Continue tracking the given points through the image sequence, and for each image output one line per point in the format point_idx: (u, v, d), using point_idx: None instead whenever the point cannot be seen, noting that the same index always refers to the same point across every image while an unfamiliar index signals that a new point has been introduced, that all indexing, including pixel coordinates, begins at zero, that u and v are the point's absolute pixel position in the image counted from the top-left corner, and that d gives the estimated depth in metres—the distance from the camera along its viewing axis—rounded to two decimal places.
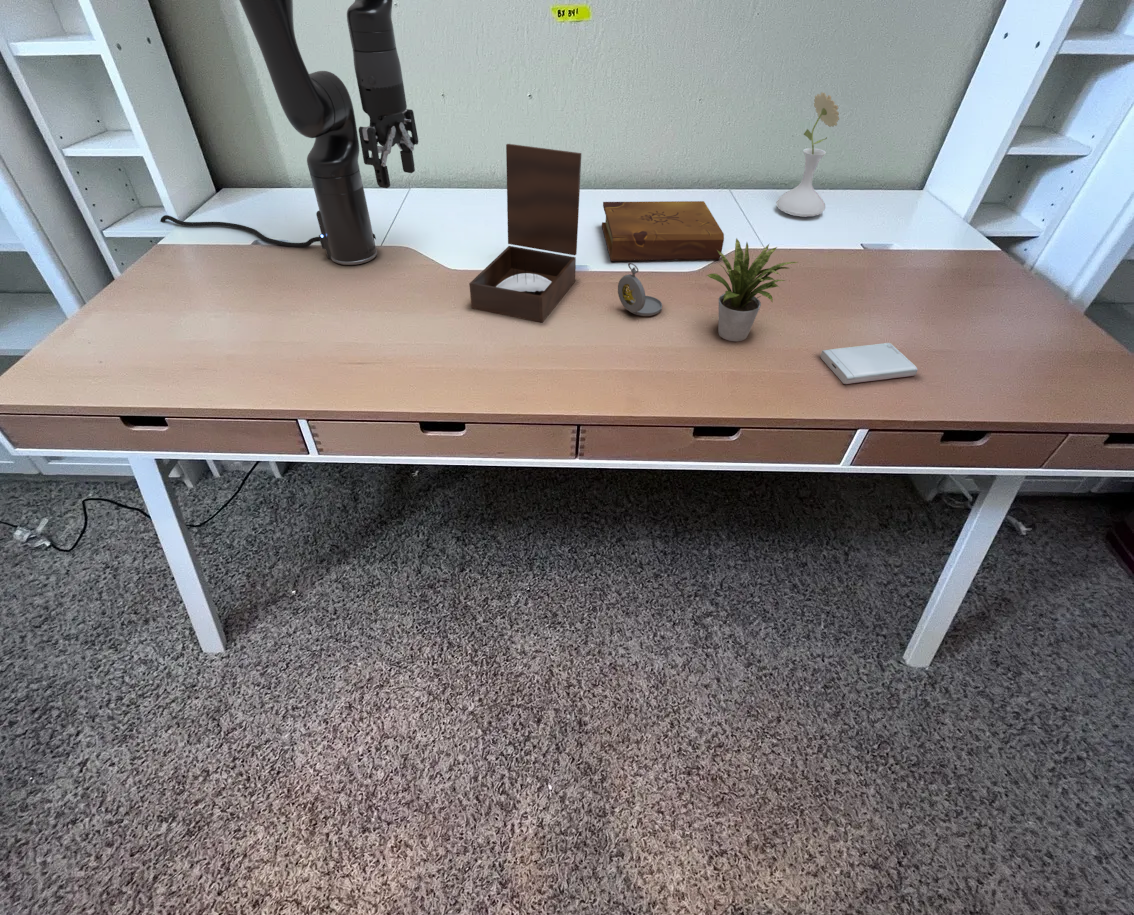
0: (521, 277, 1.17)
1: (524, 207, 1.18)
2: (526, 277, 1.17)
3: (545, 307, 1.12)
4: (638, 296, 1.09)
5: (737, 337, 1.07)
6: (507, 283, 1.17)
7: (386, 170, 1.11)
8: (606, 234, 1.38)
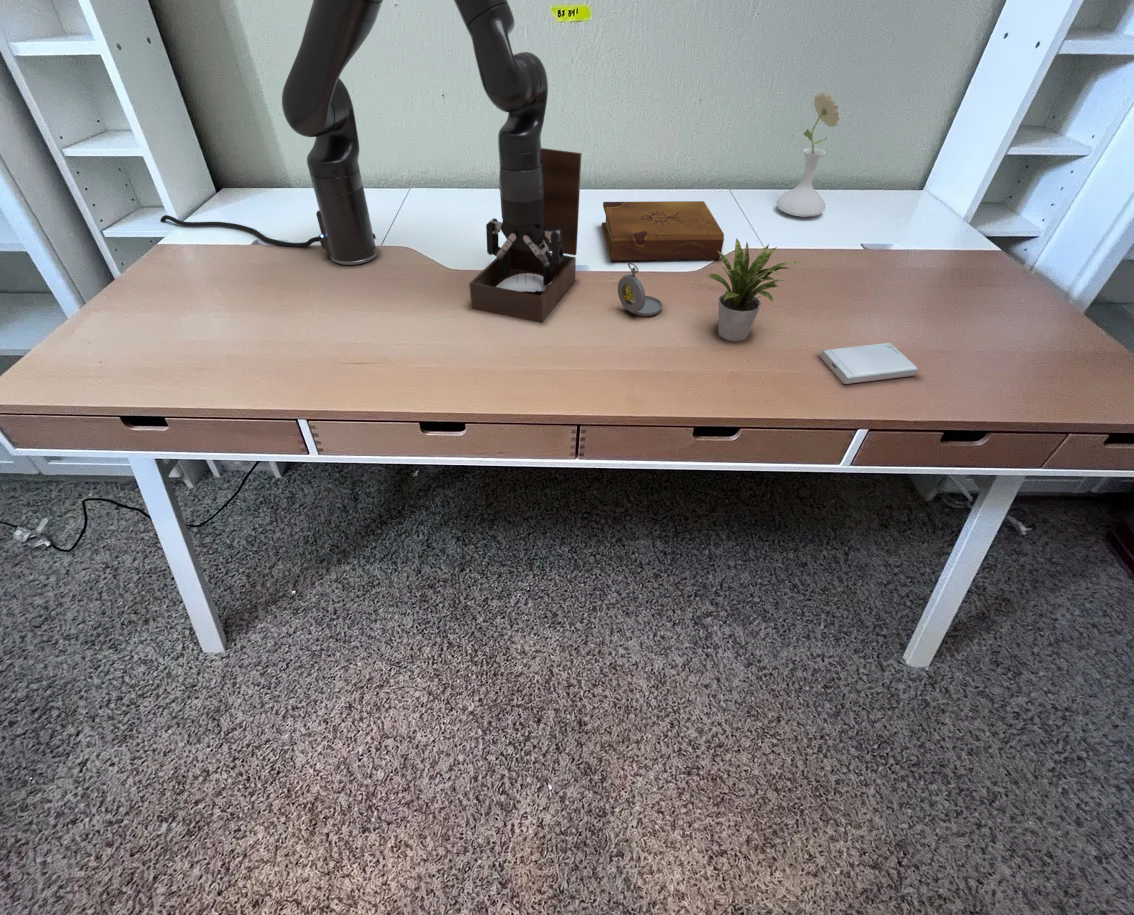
0: (521, 277, 1.17)
1: None
2: (526, 277, 1.17)
3: (545, 307, 1.12)
4: (638, 296, 1.09)
5: (737, 337, 1.07)
6: (507, 283, 1.17)
7: (502, 263, 1.16)
8: (606, 234, 1.38)
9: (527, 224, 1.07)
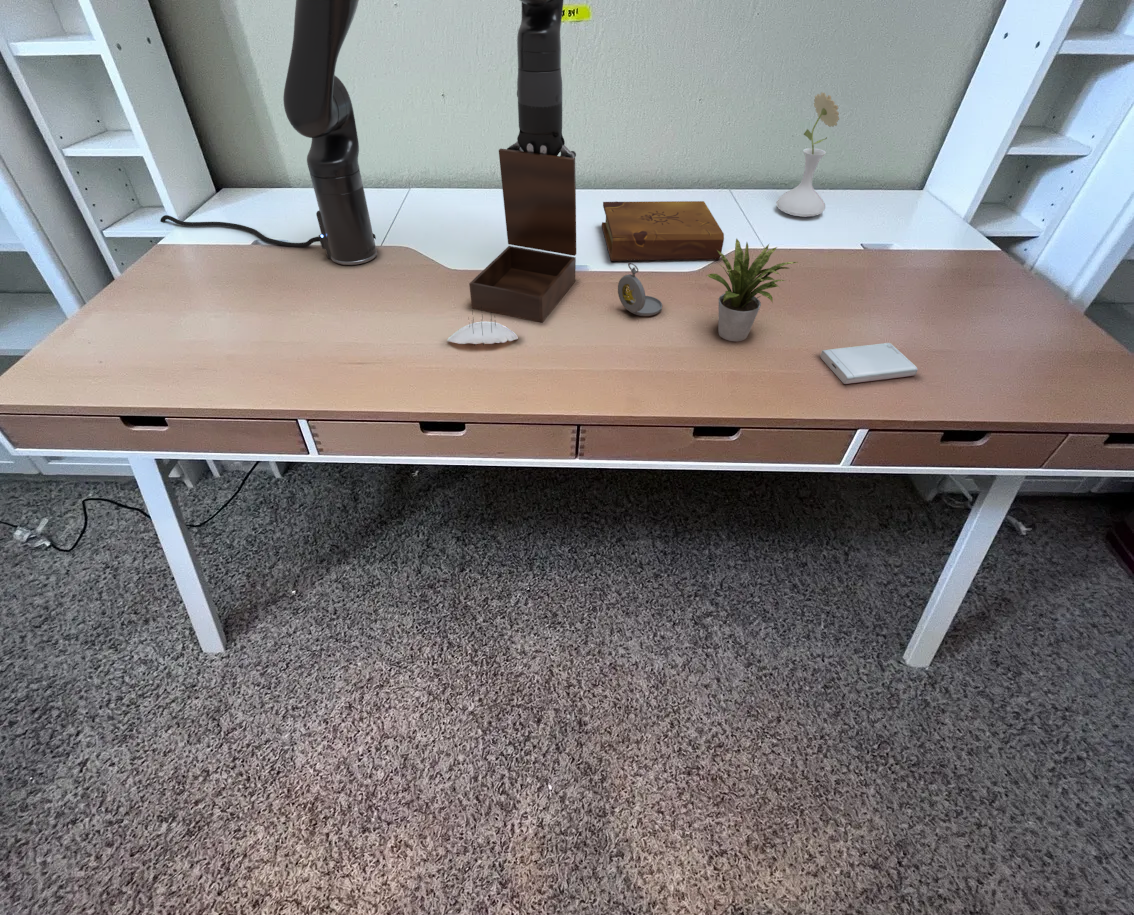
0: (477, 327, 1.05)
1: (521, 210, 1.17)
2: (483, 327, 1.05)
3: (545, 307, 1.12)
4: (638, 296, 1.09)
5: (737, 337, 1.07)
6: (462, 333, 1.05)
7: None
8: (606, 234, 1.38)
9: (545, 132, 1.05)
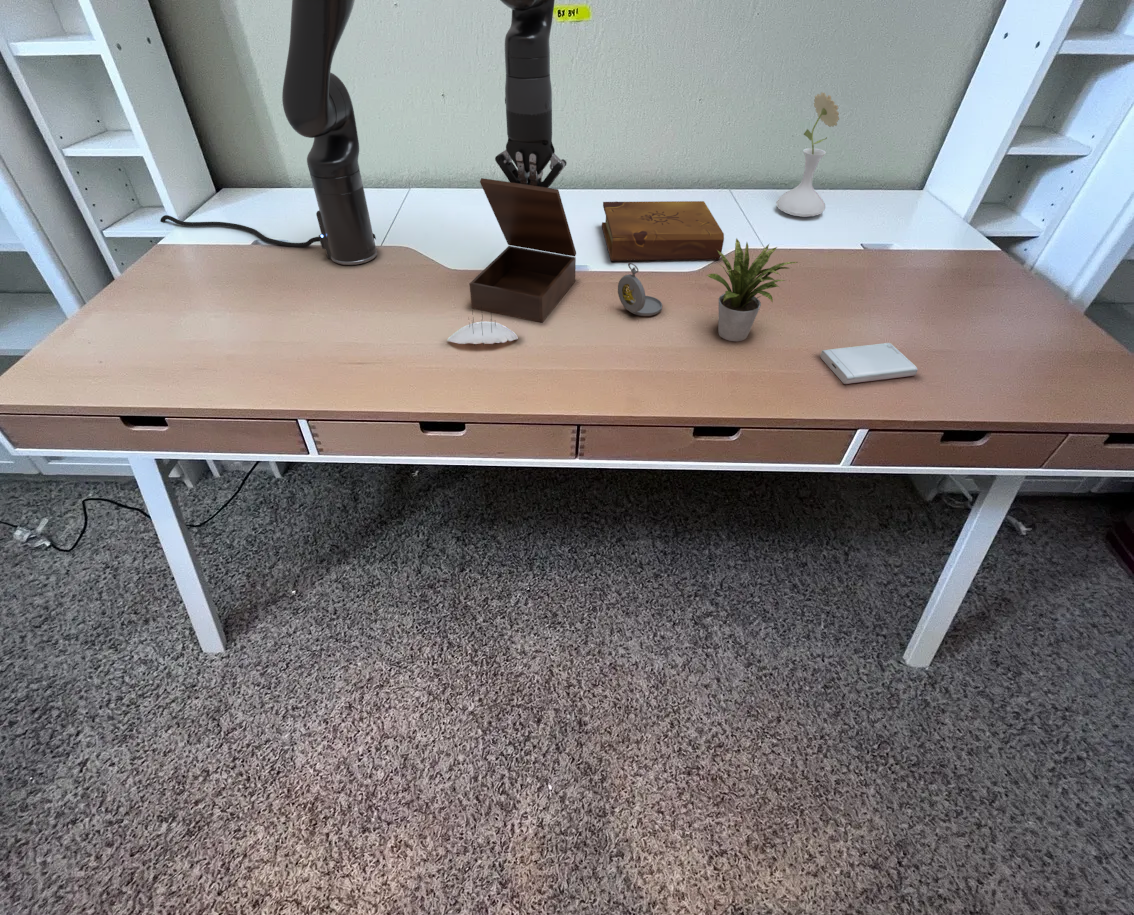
0: (477, 327, 1.05)
1: (514, 223, 1.16)
2: (483, 327, 1.05)
3: (545, 307, 1.12)
4: (638, 296, 1.09)
5: (737, 337, 1.07)
6: (462, 333, 1.05)
7: None
8: (606, 234, 1.38)
9: (534, 140, 1.02)
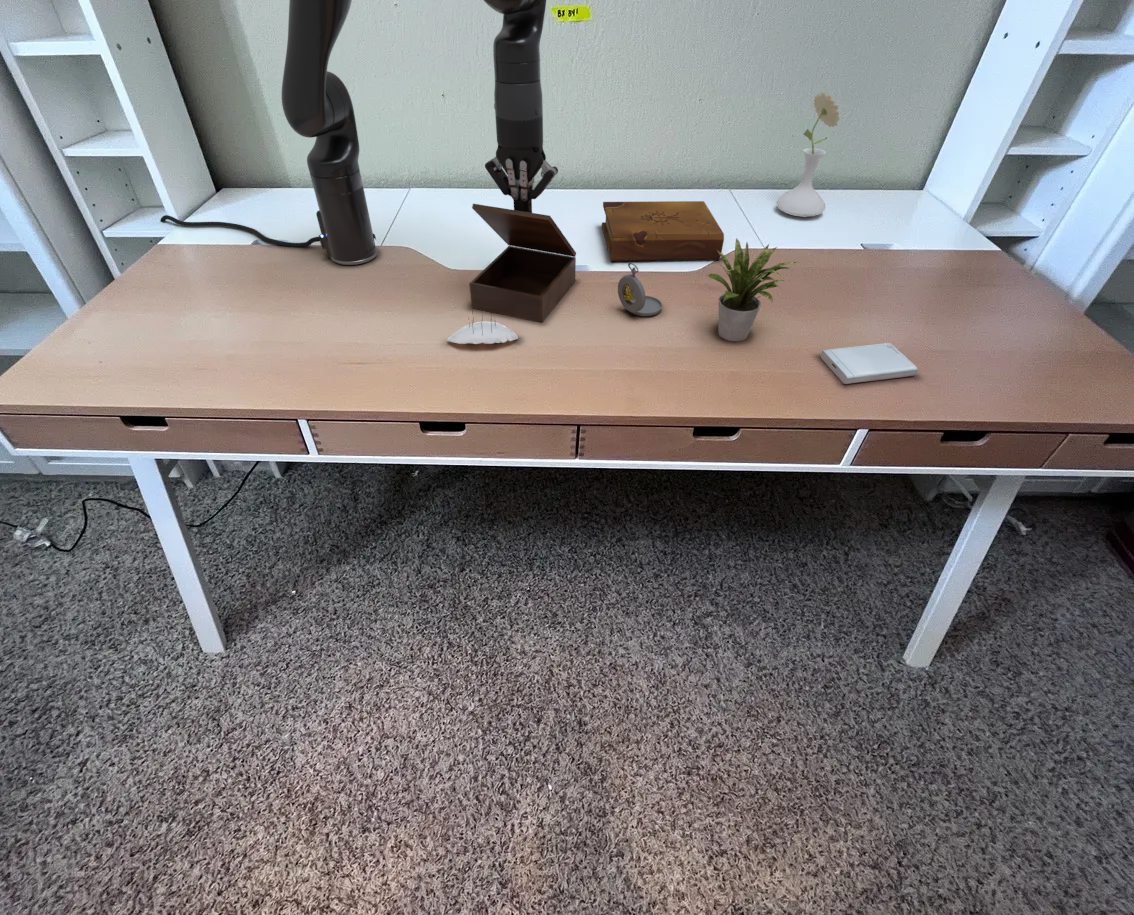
0: (477, 327, 1.05)
1: (511, 234, 1.16)
2: (483, 327, 1.05)
3: (545, 307, 1.12)
4: (638, 296, 1.09)
5: (737, 337, 1.07)
6: (462, 333, 1.05)
7: (518, 204, 1.08)
8: (606, 234, 1.38)
9: (524, 147, 0.99)
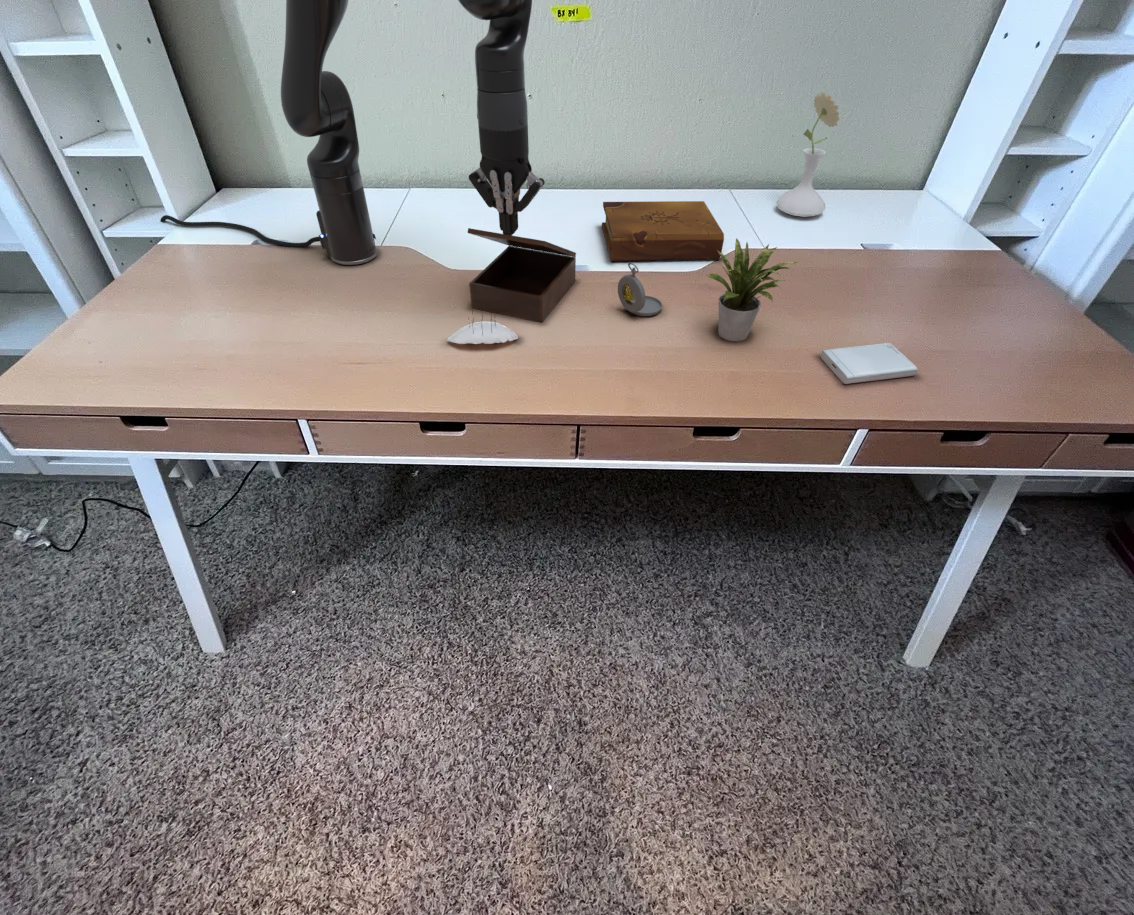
0: (477, 327, 1.05)
1: (510, 243, 1.16)
2: (483, 327, 1.05)
3: (545, 307, 1.12)
4: (638, 296, 1.09)
5: (737, 337, 1.07)
6: (462, 333, 1.05)
7: (503, 217, 1.03)
8: (606, 234, 1.38)
9: (509, 158, 0.95)
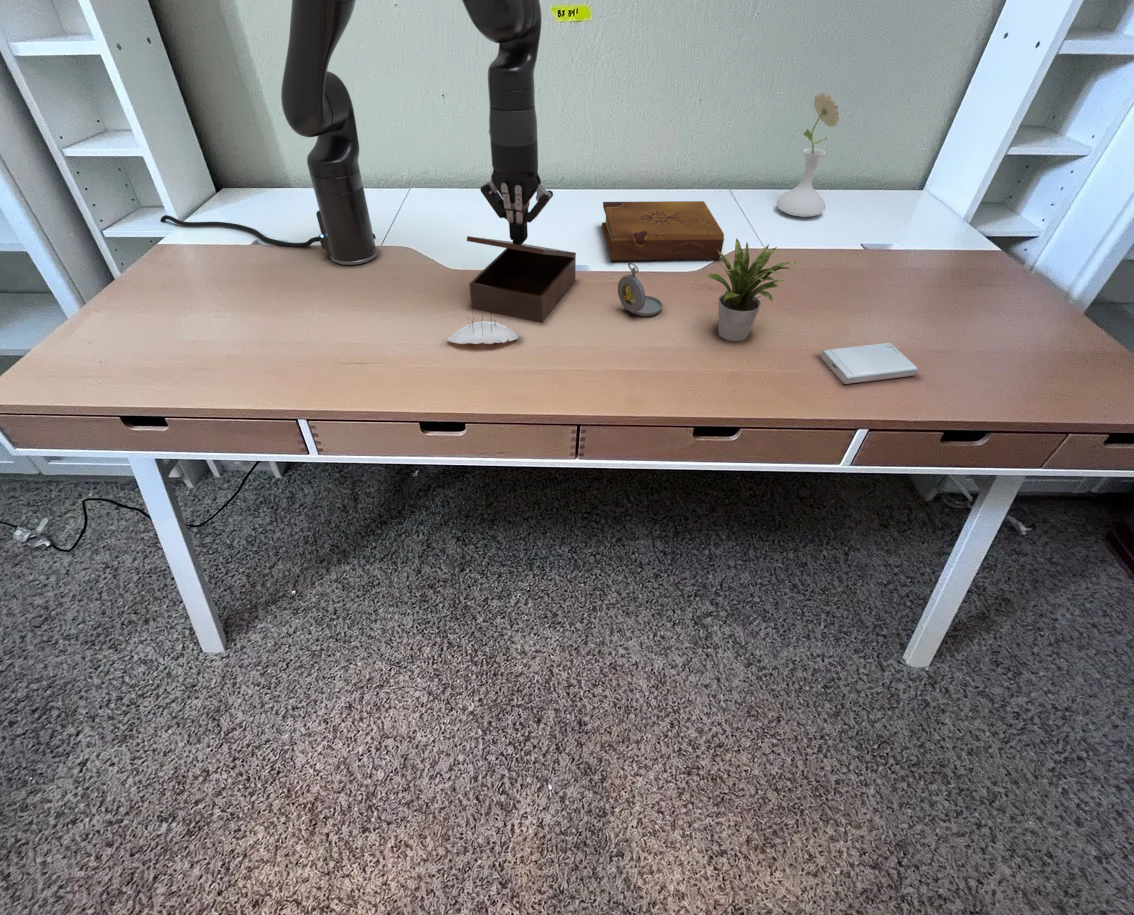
0: (477, 327, 1.05)
1: None
2: (483, 327, 1.05)
3: (545, 307, 1.12)
4: (638, 296, 1.09)
5: (737, 337, 1.07)
6: (462, 333, 1.05)
7: (513, 227, 1.08)
8: (606, 234, 1.38)
9: (519, 172, 0.99)
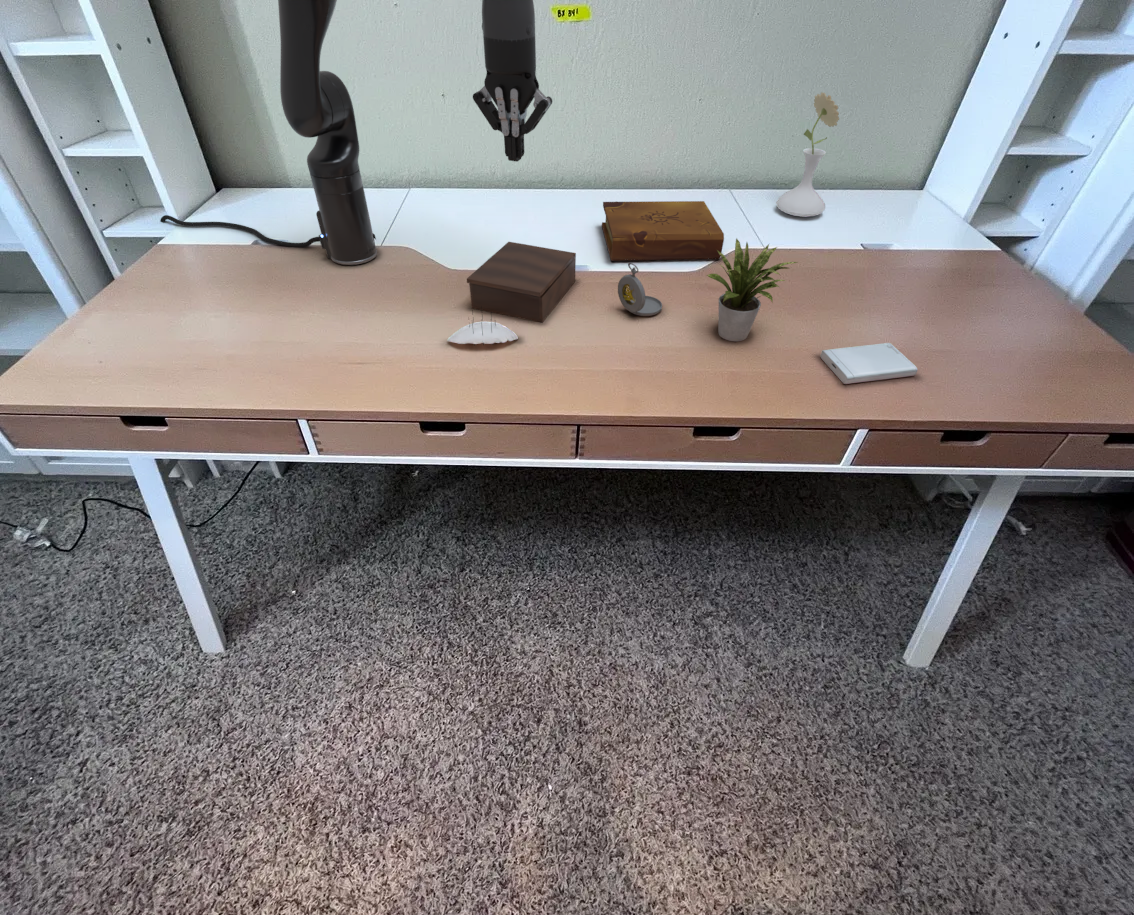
0: (477, 327, 1.05)
1: None
2: (483, 327, 1.05)
3: (545, 307, 1.12)
4: (638, 296, 1.09)
5: (737, 337, 1.07)
6: (462, 333, 1.05)
7: (508, 141, 0.99)
8: (606, 234, 1.38)
9: (515, 71, 0.90)
